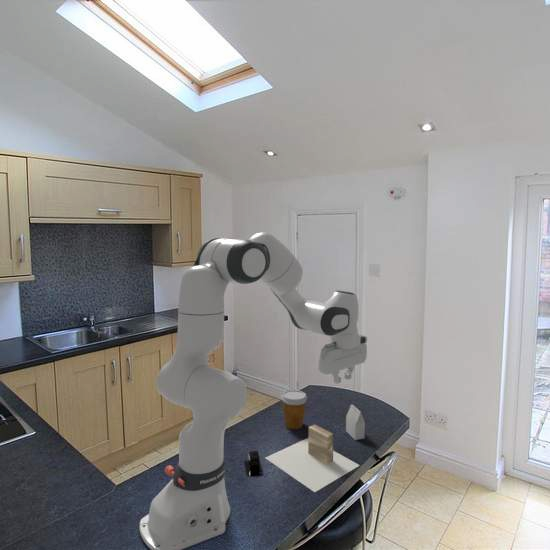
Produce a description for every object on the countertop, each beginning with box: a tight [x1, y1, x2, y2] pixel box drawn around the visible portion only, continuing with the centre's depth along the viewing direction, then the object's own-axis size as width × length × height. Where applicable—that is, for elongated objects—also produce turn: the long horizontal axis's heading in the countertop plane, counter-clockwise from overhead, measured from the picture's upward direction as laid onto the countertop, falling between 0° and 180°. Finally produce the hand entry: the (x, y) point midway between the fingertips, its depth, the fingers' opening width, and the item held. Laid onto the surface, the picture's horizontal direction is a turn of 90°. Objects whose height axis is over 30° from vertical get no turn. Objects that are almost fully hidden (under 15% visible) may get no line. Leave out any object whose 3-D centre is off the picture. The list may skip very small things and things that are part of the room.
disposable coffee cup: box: [281, 389, 308, 430], centre depth 150 cm, size 10×10×12 cm
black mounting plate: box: [243, 450, 264, 478], centre depth 125 cm, size 12×7×5 cm, turn 11°
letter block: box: [308, 424, 335, 464], centre depth 129 cm, size 3×8×9 cm, turn 40°
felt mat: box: [265, 437, 360, 493], centre depth 127 cm, size 20×22×1 cm
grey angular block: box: [345, 404, 366, 441], centre depth 144 cm, size 4×7×10 cm, turn 18°
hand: (342, 380), depth 134 cm, fingers open, 4 cm apart
